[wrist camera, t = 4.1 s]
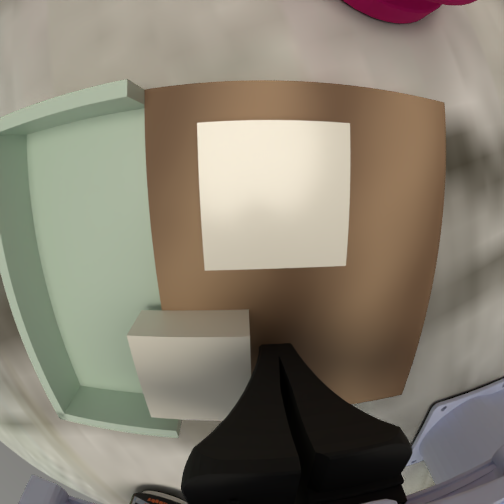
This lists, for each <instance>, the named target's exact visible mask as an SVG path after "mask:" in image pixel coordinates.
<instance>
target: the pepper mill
mask: <svg viewBox="0 0 504 504" xmlns="http://www.w3.org/2000/svg"><path fill="white" fill-rule="evenodd" d="M343 1H344V2H346V3H347V4H349V5H350V6H352V7H353V8H354V9H356V10H358V11H360V12H363V13H365V14H367V15H369V16H371V17H373V18H376V19H379V20H383V21H387V22H392V23H403V24H404V23H412V22H416V21H418V20H420V19H422V18H424V17H425V16H427V15H428V14H430V13H431V12H433V11H434V10H436V9H438V8H439V7H440V6H441V5H442V4H445V5H465V4H469V3H472V2H474V1H477V0H343Z"/></svg>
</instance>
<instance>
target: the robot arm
mask: <svg viewBox="0 0 504 504" xmlns="http://www.w3.org/2000/svg"><path fill="white" fill-rule="evenodd" d="M421 461H424V462H425V464H426V466H427V468H428V470H429V472H430V474H431V476H432V478H433V481H434V483H435V485H434V486H432V487H429V488H427V489H424V490H422V491H419V492H416V493H413V494H410V495H407V496H406V495H405V493H404V490H403V488H402V485H401V484H403V482H404V480H403V477H402V475H401V472H402V471H403V469H404V468H405V466H409V465H412V464H415V463H418V462H421ZM181 490H182V493H183V495H184V497H185V499H186V501H187V503H188V504H504V378H503V379H501V380H499V381H496V382H494V383H492V384H489V385H487V386H484V387H482V388H479V389H477V390H474V391H471V392H469V393H466V394H463V395H460V396H457V397H454V398H451V399H448V400H445V401H442V402H439V403H436V404H435V405H434V406H433V407H432V408H431V410H430V412H429V414H428V417H427V419H426V421H425V423H424V425H423V426H422V428H421V430H420V432H419V434H418V436H417V438H416V440H415V441H414V443H413V445H412V447H411V445H410V443H409V441H408V439H407V437H406V436H405V434H404V433H403V432H402V430H401V428H400V427H398V426H395V425H392V424H389V423H387V422H384V421H381V420H379V419H377V418H375V417H372V416H370V415H368V414H366V413H364V412H363V411H361V410H359V409H357V408H356V407H354V406H353V405H351V404H349V403H348V402H346V401H345V400H343V399H342V398H341V397H339V396H338V395H337V394H336V393H334V392H333V391H332V390H331V389H330V388H329V387H327V386H326V385H325V384H324V383H323V382H322V381H321V380H320V379H319V378H318V377H317V376H316V375H315V374H314V372H313V371H312V370H311V369H310V368H309V367H308V366H307V364H306V363H305V362H304V361H303V359H302V358H301V357H300V355H299V354H298V353H297V351H296V350H295V348H294V347H293V345H292V344H291V343H283V344H262V345H260V346H259V353H258V358H257V362H256V365H255V368H254V370H253V373H252V376H251V378H250V380H249V382H248V384H247V386H246V388H245V390H244V392H243V394H242V395H241V397H240V399H239V400H238V402H237V403H236V405H235V406H234V407H233V409H232V410H231V411H230V413H229V414H228V415H227V417H226V418H225V419H224V420H223V421H222V422H221V423H220V424H219V425H218V427H217V428H216V429H215V430H214V431H213V432H212V433H211V434H210V435H209V436H207V437H206V438H205V439H204V440H203V441H201V442H200V443H199V444H198V445H196V446H195V447H194V448H193V450H192V452H191V454H190V456H189V458H188V460H187V463H186V465H185V468H184V472H183V476H182V483H181ZM18 504H95V503H92V502H88V501H85V500H82V499H79V498H75V497H73V496H69V495H68V493H67V492H66V491H65V490H64V489H63V488H62V487H61V486H59V485H58V484H56V483H54V482H51V481H49V480H46V479H44V478H41V477H39V476H36V475H31V477H30V479H29V481H28V483H27V485H26V488H25V490H24V492H23V494H22V496H21V498H20V501H19V503H18Z"/></svg>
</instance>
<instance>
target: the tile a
mask: <svg viewBox="0 0 504 504" xmlns="http://www.w3.org/2000/svg"><path fill="white" fill-rule="evenodd" d="M127 339H128V343H129V347H130V351H131V354H132V358H133V361H134V365H135V368H136V372H137V375H138V378H139V382H140V385H141V388H142V391H143V394H144V397H145V400H146V403H147V406H148V409H149V412H150V415H151V417H154V418H166V419H182V420H207V421H223V420H224V419H225V418H226V417H227V415H228V414H229V413H230V411H231V410H232V409H233V407H234V406H235V405H236V403H237V402H238V400H239V399H240V397H241V395H242V394H243V392H244V390H245V388H246V386H247V384H248V382H249V380H250V378H251V356H250V328H249V309H248V310H184V311H172V310H141V312H140V314H139V315H138V317H137V319H136V320H135V322H134V324H133V325H132V327H131V329H130V330H129V332H128V334H127Z"/></svg>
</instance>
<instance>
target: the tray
mask: <svg viewBox="0 0 504 504" xmlns="http://www.w3.org/2000/svg"><path fill="white" fill-rule="evenodd" d="M144 93H145V90H144V89H143V88H141V87H139V86H138V85H136V84H134V83H133V82H131V81H130V80H128V79H125V80H120V81H116V82H111V83H106V84H102V85H98V86H94V87H90V88H86V89H82V90H78V91H75V92H71V93H68V94H64V95H61V96H58V97H54V98H51V99H48V100H45V101H42V102H39V103H36V104H34V105H31V106H28V107H25V108H23V109H20V110H17V111H15V112H12V113H10V114H7V115H5V116H3V117H0V272H1V276H2V280H3V284H4V287H5V291H6V294H7V298H8V301H9V304H10V307H11V310H12V313H13V316H14V319H15V322H16V325H17V328H18V331H19V333H20V336H21V338H22V341H23V344H24V346H25V349H26V351H27V353H28V356H29V358H30V360H31V363H32V365H33V367H34V369H35V372H36V374H37V376H38V378H39V380H40V382H41V384H42V386H43V388H44V390H45V392H46V394H47V396H48V398H49V400H50V402H51V404H52V406H53V407H54V409H55V411H56V413H57V415H58V416H59V418H60V419H63V420H67V421H71V422H75V423H80V424H84V425H89V426H94V427H99V428H104V429H109V430H115V431H121V432H128V433H135V434H142V435H151V436H160V437H171V438H179V433H180V428H181V423H182V419H166V418H154V417H151V415H150V412H149V409H148V406H147V403H146V400H145V397H144V394H143V391H142V388H141V385H140V382H139V378H138V375H137V372H136V368H135V365H134V361H133V358H132V354H131V351H130V347H129V343H128V339H127V334H128V332H129V330H130V329H131V327H132V325H133V324H134V322H135V320H136V319H137V317H138V315H139V314H140V312H141V310H162V308H161V301H160V295H159V288H158V282H157V274H156V267H155V259H154V251H153V243H152V234H151V224H150V213H149V201H148V188H147V173H146V153H145V114H144Z"/></svg>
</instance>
